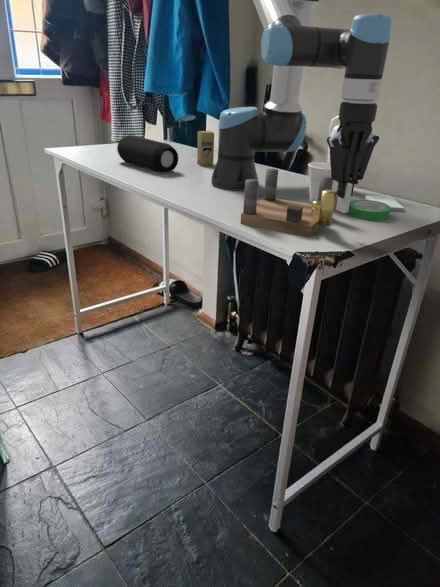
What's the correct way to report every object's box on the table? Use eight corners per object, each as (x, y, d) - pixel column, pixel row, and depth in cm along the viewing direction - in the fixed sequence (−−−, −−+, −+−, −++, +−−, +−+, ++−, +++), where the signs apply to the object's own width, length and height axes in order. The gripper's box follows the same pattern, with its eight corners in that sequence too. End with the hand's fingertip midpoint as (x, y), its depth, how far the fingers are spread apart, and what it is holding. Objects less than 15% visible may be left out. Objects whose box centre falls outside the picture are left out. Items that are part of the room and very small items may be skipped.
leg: (308, 211, 113) (312, 181, 110) (321, 212, 114) (325, 181, 110) (319, 225, 104) (324, 193, 100) (332, 226, 104) (338, 193, 100)
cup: (313, 197, 137) (318, 160, 132) (343, 204, 131) (349, 166, 126) (296, 203, 130) (301, 164, 125) (327, 211, 125) (333, 171, 119)
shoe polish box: (197, 163, 173) (197, 131, 168) (209, 163, 175) (210, 130, 169) (200, 166, 169) (201, 132, 164) (213, 165, 171) (214, 132, 165)
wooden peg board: (265, 205, 126) (268, 168, 122) (328, 216, 120) (334, 177, 115) (240, 223, 112) (243, 181, 107) (310, 236, 105) (317, 192, 101)
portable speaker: (180, 172, 159) (180, 143, 155) (158, 176, 153) (157, 146, 148) (137, 160, 175) (136, 133, 170) (115, 163, 168) (114, 135, 164)
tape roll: (365, 222, 117) (367, 212, 116) (339, 210, 126) (340, 201, 125) (397, 218, 121) (399, 209, 120) (370, 207, 130) (371, 198, 129)
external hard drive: (375, 212, 127) (364, 199, 138) (404, 213, 127) (390, 201, 138) (376, 206, 127) (365, 194, 138) (405, 208, 127) (392, 196, 138)
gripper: (347, 103, 88) (330, 218, 99) (395, 102, 93) (374, 212, 104) (323, 100, 94) (310, 209, 105) (370, 99, 99) (352, 203, 110)
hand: (342, 210), depth 104 cm, fingers closed
